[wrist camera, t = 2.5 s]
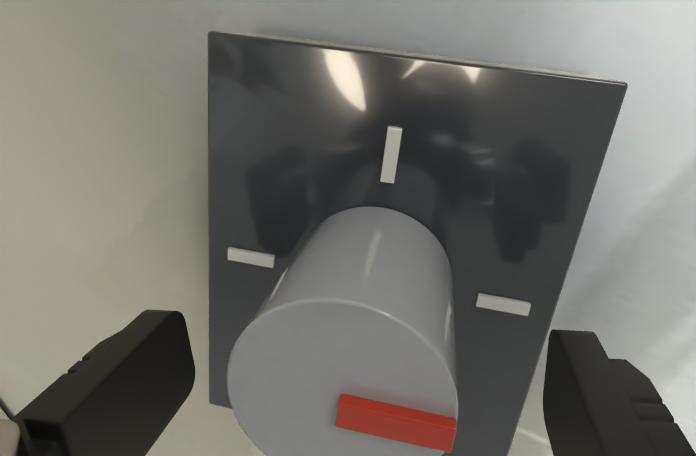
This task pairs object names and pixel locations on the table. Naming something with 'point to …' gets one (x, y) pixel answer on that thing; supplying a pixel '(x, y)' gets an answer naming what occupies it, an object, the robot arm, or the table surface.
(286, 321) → the rotary knob
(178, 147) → the table surface
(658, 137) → the table surface
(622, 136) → the table surface
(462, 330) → the dark grey flat block
